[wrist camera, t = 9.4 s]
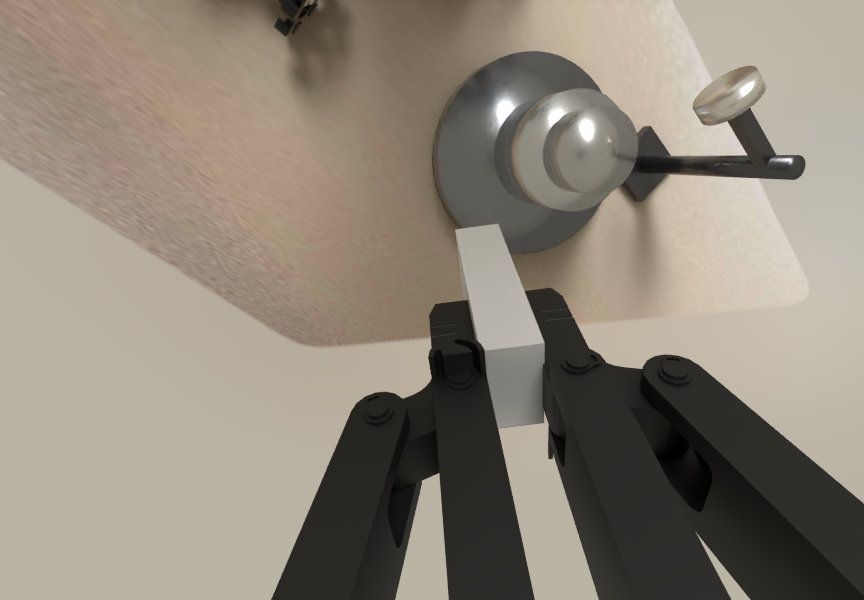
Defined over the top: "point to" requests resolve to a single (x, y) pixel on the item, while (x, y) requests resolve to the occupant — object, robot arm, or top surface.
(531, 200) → the cover
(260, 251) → the top surface
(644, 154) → the dial stand
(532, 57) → the grey metal flat disc
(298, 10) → the valve
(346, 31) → the top surface
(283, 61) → the top surface
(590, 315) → the top surface
